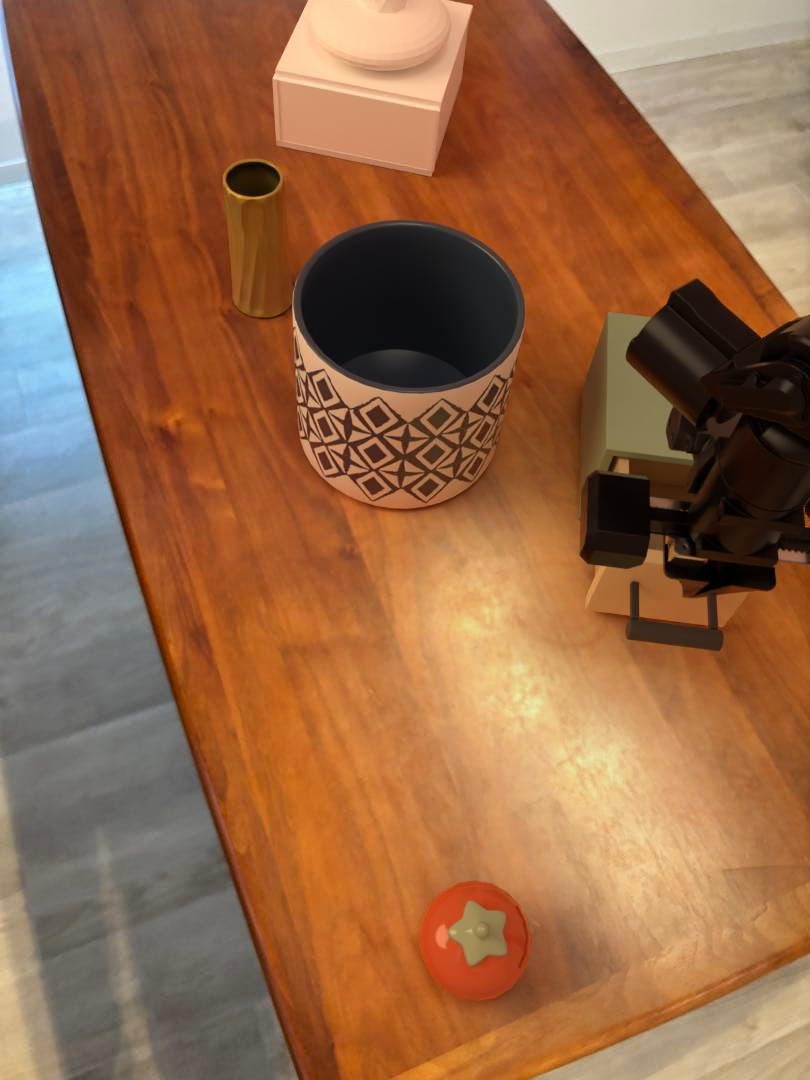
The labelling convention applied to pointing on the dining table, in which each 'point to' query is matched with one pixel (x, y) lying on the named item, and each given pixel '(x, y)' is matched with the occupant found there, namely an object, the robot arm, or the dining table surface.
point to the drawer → (660, 579)
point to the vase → (258, 238)
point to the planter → (404, 360)
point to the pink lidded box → (372, 80)
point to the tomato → (475, 940)
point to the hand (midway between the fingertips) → (687, 591)
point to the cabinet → (621, 405)
